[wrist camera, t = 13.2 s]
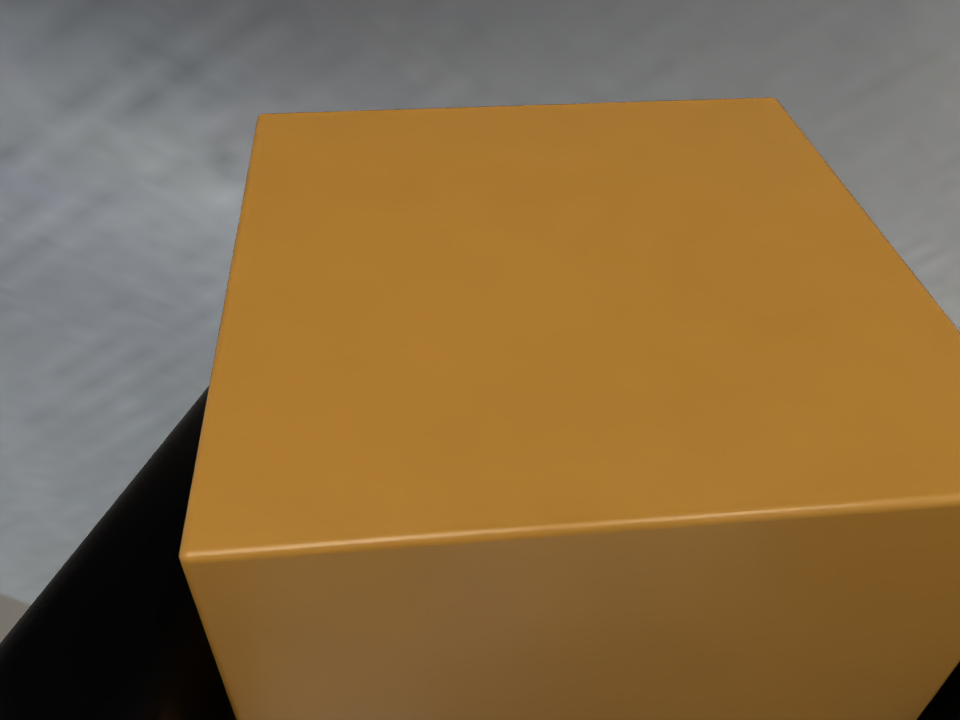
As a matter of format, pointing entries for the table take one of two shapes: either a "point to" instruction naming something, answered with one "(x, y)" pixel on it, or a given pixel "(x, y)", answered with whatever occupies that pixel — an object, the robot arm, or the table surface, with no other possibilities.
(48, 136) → the table surface
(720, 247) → the brass block
